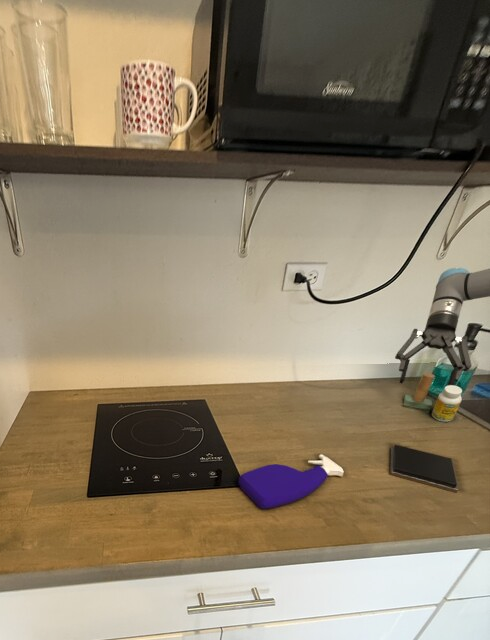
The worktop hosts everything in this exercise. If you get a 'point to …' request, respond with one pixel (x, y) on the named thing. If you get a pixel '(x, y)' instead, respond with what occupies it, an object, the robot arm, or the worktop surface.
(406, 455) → the flat black square slab
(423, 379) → the brush
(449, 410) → the supplement bottle
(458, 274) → the robot arm
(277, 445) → the worktop surface
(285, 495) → the spray bottle
